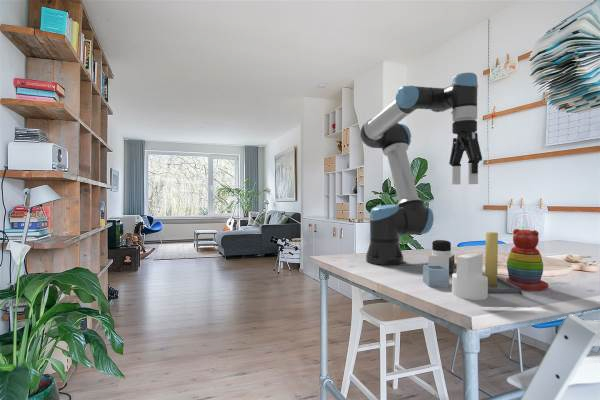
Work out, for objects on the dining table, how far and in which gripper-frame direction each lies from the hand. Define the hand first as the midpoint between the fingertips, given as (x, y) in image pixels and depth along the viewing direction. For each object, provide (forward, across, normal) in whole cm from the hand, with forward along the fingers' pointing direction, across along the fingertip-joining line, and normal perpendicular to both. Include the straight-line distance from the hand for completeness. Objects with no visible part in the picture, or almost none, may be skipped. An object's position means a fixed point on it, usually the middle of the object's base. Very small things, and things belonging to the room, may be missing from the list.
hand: (464, 184), depth 117 cm
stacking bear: (+32, +11, +14) cm, 37 cm away
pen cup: (+32, +11, -13) cm, 36 cm away
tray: (+32, +13, +3) cm, 34 cm away
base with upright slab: (+32, +22, -7) cm, 39 cm away
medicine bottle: (+32, -4, -6) cm, 33 cm away
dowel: (+31, +13, +3) cm, 33 cm away
